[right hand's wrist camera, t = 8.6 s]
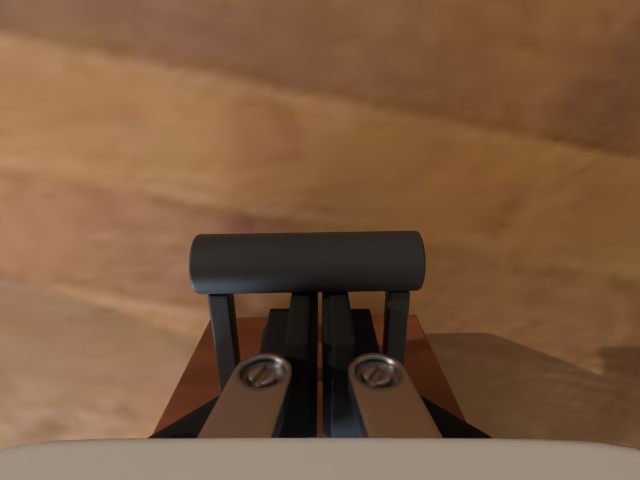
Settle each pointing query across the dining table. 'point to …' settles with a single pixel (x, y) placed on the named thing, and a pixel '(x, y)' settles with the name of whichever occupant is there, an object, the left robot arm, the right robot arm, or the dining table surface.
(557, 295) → the dining table surface
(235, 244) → the drawer
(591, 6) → the dining table surface
